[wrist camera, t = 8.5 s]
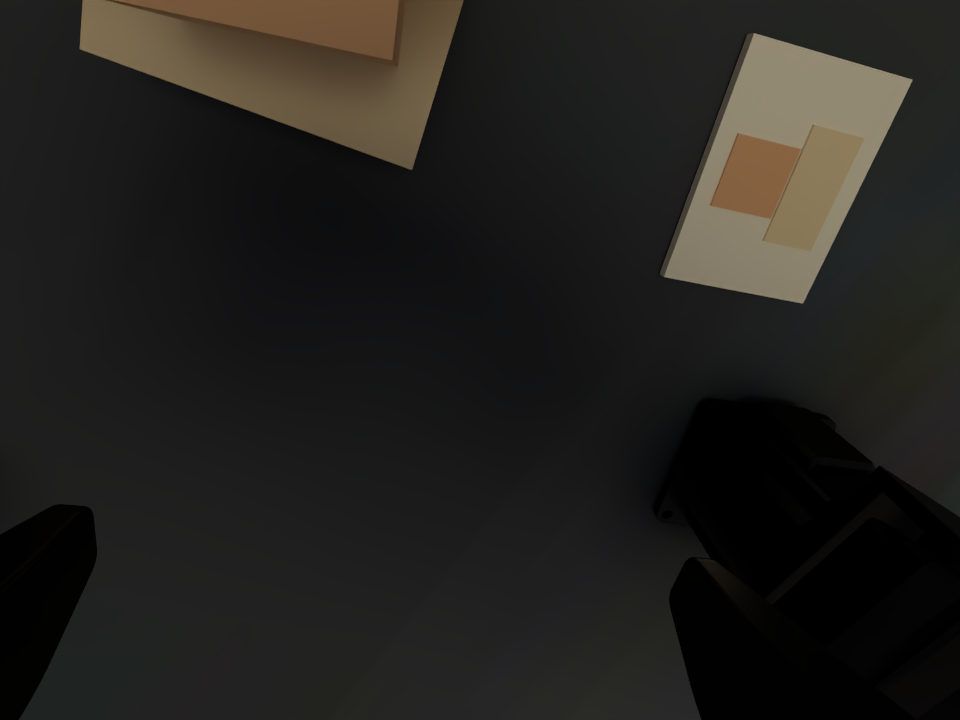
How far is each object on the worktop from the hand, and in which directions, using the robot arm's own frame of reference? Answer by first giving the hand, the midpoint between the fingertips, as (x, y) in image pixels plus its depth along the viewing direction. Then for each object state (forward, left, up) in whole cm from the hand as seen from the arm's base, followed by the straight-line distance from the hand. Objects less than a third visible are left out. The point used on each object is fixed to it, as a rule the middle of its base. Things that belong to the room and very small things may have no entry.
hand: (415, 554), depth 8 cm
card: (+6, -12, -13) cm, 19 cm away
